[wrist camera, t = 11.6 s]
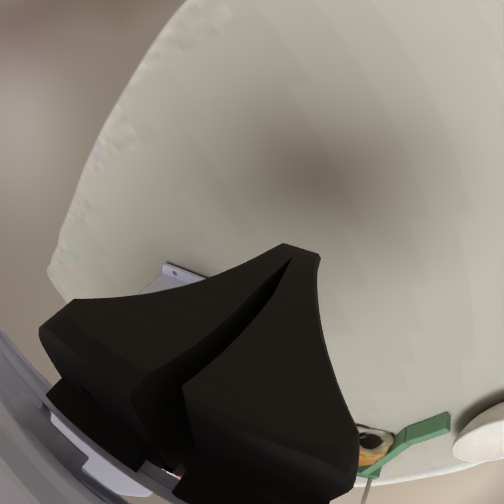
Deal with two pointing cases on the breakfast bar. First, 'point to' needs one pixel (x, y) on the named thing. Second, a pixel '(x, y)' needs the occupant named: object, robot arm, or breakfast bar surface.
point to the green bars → (406, 444)
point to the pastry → (373, 445)
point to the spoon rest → (482, 437)
